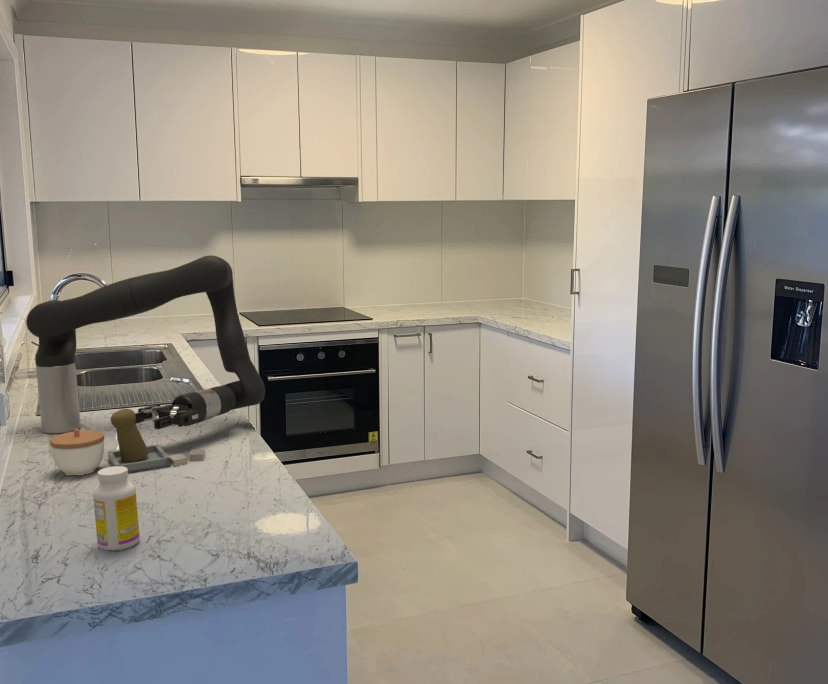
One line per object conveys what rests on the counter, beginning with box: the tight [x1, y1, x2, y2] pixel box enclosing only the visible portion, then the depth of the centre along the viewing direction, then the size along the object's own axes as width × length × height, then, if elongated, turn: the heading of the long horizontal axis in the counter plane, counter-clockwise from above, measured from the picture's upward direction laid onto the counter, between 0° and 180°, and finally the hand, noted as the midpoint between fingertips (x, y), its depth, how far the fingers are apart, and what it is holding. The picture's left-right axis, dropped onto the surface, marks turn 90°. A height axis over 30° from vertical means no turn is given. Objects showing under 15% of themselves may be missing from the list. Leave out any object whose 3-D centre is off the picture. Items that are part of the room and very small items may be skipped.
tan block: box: [167, 453, 189, 468], centre depth 178 cm, size 4×3×2 cm
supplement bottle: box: [92, 466, 141, 552], centre depth 134 cm, size 7×7×13 cm
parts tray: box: [107, 444, 171, 475], centre depth 178 cm, size 12×11×2 cm
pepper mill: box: [110, 408, 149, 463], centre depth 178 cm, size 6×6×11 cm
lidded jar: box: [49, 428, 105, 476], centre depth 172 cm, size 11×11×9 cm
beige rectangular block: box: [188, 448, 206, 462], centre depth 181 cm, size 4×3×2 cm
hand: (142, 422), depth 179 cm, fingers open, 8 cm apart
